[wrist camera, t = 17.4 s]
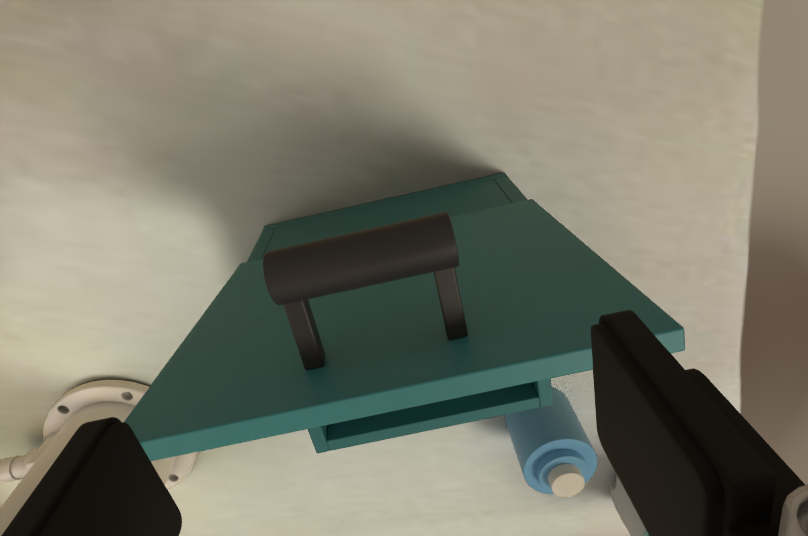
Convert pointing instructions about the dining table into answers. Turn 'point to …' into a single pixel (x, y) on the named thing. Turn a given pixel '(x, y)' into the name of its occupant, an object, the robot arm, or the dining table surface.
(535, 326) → the lid
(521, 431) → the water bottle
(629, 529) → the bottle
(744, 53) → the dining table surface
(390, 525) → the dining table surface
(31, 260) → the dining table surface
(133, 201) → the dining table surface
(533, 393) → the teal hollow box
